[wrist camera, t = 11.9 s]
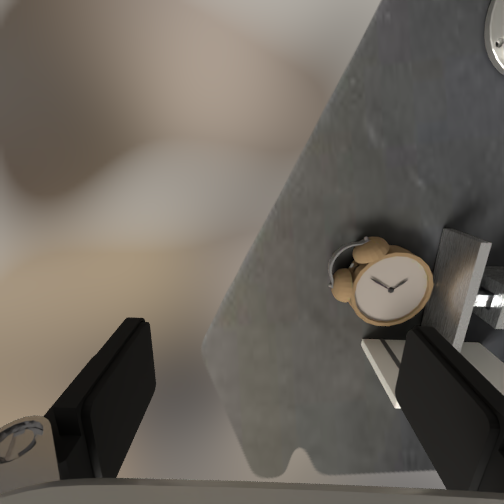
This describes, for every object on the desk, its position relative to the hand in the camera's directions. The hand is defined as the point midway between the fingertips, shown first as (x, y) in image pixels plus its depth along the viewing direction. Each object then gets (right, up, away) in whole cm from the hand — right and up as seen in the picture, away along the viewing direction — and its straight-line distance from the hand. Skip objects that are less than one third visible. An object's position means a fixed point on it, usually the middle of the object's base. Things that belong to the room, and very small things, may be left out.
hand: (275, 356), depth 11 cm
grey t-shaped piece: (+30, -1, +31) cm, 44 cm away
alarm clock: (+17, +1, +32) cm, 36 cm away
